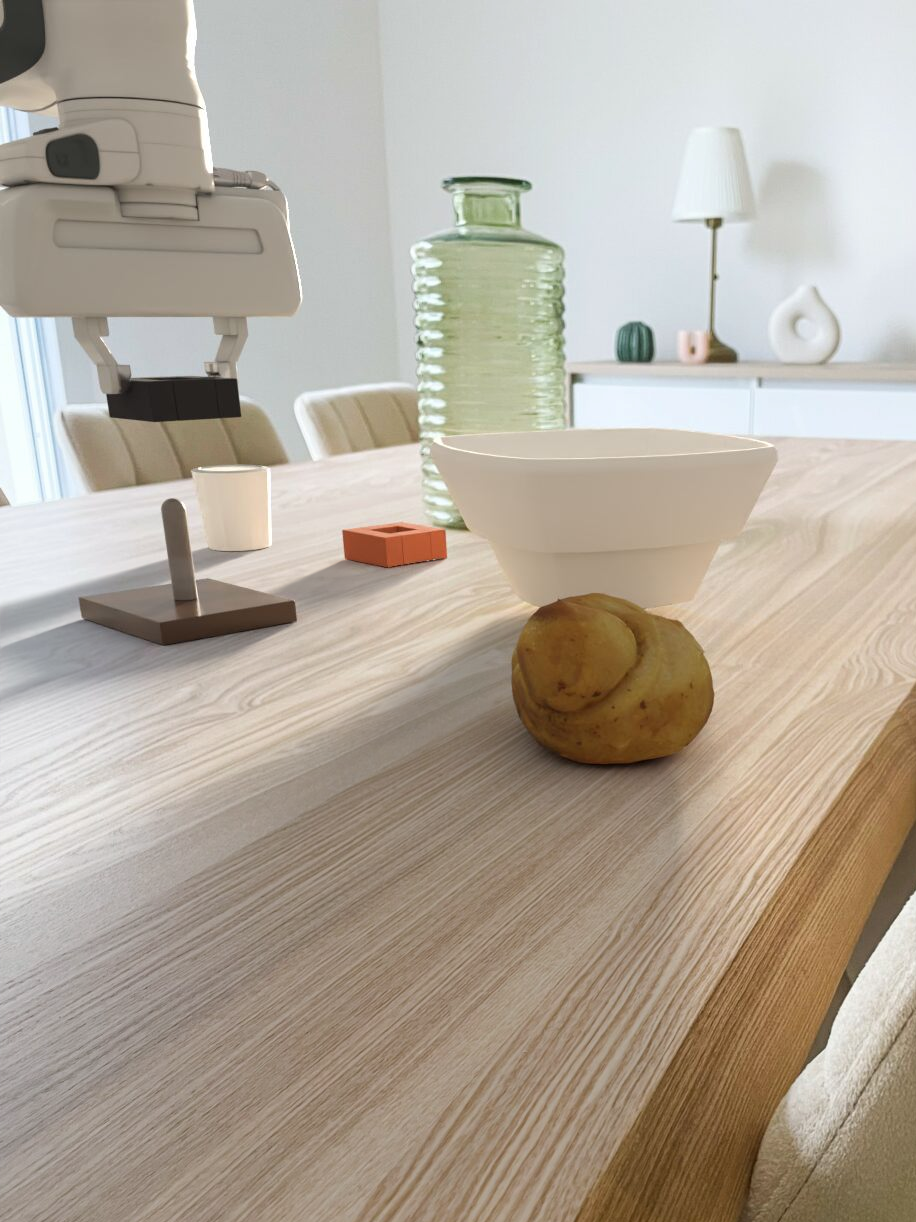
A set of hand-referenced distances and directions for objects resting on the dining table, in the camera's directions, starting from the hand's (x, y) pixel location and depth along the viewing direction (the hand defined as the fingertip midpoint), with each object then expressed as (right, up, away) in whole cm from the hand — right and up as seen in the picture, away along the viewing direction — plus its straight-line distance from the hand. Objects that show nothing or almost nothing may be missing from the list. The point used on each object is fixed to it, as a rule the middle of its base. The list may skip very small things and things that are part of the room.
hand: (171, 391), depth 88 cm
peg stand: (0, -15, +3) cm, 15 cm away
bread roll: (+30, -26, -22) cm, 46 cm away
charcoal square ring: (0, -2, +1) cm, 2 cm away
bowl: (+29, -14, +7) cm, 33 cm away
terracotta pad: (+10, -5, +26) cm, 28 cm away
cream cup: (-6, -3, +32) cm, 33 cm away
